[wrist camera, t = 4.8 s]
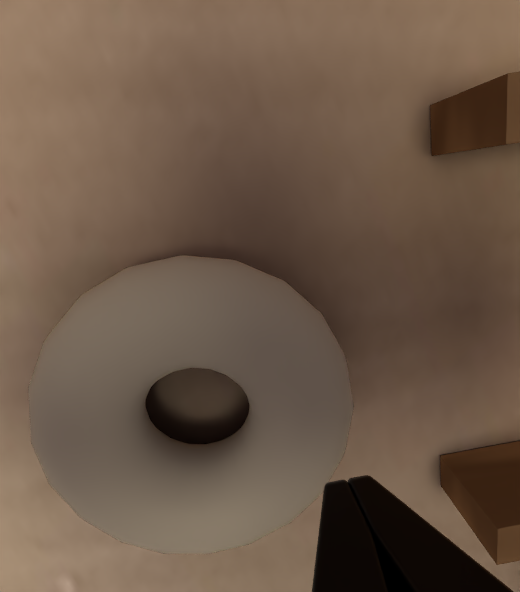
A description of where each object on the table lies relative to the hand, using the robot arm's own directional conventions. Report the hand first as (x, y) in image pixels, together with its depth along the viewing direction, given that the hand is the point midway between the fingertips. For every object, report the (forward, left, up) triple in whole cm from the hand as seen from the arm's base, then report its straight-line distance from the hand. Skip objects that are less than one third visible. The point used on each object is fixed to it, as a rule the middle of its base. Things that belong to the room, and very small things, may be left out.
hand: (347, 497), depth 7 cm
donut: (-2, +8, -5) cm, 10 cm away
